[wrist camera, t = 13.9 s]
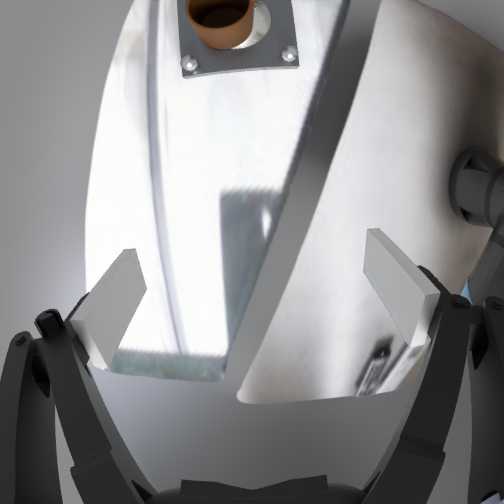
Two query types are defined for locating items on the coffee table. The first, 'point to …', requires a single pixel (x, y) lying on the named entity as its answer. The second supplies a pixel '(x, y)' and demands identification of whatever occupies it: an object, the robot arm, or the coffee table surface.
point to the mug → (221, 21)
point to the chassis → (249, 52)
